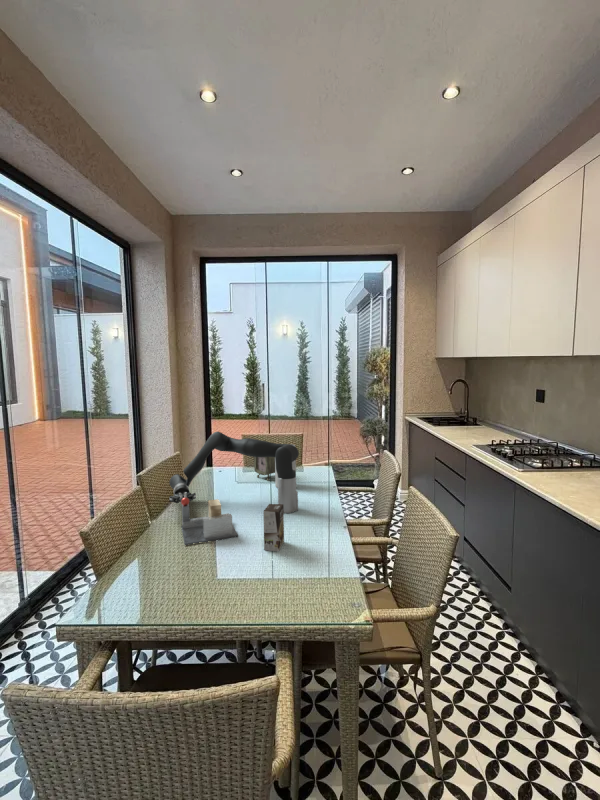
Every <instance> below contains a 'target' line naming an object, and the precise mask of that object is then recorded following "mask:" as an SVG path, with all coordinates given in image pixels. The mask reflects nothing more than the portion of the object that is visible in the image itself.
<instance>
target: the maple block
mask: <svg viewBox="0 0 600 800" xmlns="http://www.w3.org/2000/svg"><path fill="white" fill-rule="evenodd" d="M207 508H208V516H209V517H212V516H219V515H221V514H222V504H221V501H220V500H219V499H218V498H217V499H209V500H208V501H207Z"/></svg>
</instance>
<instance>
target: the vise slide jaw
mask: <svg viewBox="0 0 600 800" xmlns="http://www.w3.org/2000/svg"><path fill="white" fill-rule="evenodd" d="M180 505H181V518H182V519H181V520H182V521H181V522H182V523H181V524H182V525H183V529H185V528H192V527H199V526H203V518H205V517H209V515H207V516H206V515H205V516H200V517H193V518H190V502H189V499H188V498H186V497H185V498H183V499H182V500H181V503H180ZM226 514H230V513H221V515H226Z"/></svg>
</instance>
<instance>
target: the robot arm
mask: <svg viewBox="0 0 600 800" xmlns="http://www.w3.org/2000/svg"><path fill="white" fill-rule="evenodd" d="M266 441H267V440H262V439H261V440H260V439H255V438H241V439H238V438H233V437H231V436H228V435H226V434H224V433H223V432H220V431H215V432H214V431H213V433H211V434H210V436H209V437H208V438H207V440H206V441H205V443H204V444H203V446H202V447H201V449H200V450H199V452H198V453H197V454H196V455H195V456H194V458H193V459H192V460H191V461H190V462H189V463H188V464H187V466H185V467H184V469H183V470H182V471H183V474H184V475H185V477H186V479H185V477H183V476H182V475H180V474H174V475H172V476H171V477H170V480H169V485H170V487H171V489H172V490H173V495H169V502H171V503H173V504H174V503H175V504H179V503H180V504H181V500H182V499H183V498H185V497H186V498H188V499H189V503H190V502H192V501H194V500H195V499H196V498H197V496H196V495H197V493H196V492H193V493H192V492H190V489H189V487H190V485H191V483H192V481H193V480H194V478H195V477H196V476H197V475H198V474H199V472H201V470H202V469H203V468H204V466H205V463H206V461H207V459H208V457H209V455H210V454H211V453H212V452H213V451H214V450H216V451H219V452H230V453H231V452H232V453H236V454H240V455H244V456H247V457H253V458H254V457H275V461H276V471H277V474H278V488H277V497H278V498H277V501H278V502H277V504H283V506H284V514H292V513H294V511H295V512H298V511H299V501H298V499H299V496H298V495H299V493H298V491H297V472H296V471H295V470H293V469H292V462H293V461H295V460H296V461H297V459H298V457H299V454H300V452H299V450H298V448H297V447H296V445H295V446H293V445H294V444H292V445H291V443H276V442H270V441H267V442H266ZM297 510H298V511H297ZM291 512H292V513H291Z"/></svg>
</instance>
